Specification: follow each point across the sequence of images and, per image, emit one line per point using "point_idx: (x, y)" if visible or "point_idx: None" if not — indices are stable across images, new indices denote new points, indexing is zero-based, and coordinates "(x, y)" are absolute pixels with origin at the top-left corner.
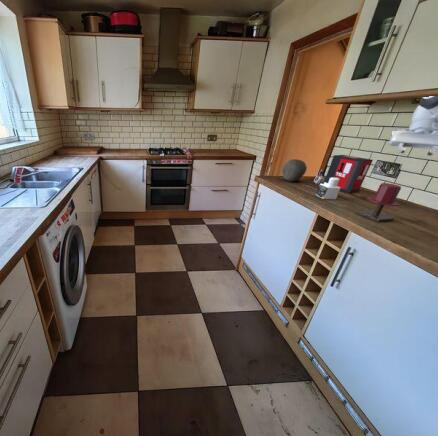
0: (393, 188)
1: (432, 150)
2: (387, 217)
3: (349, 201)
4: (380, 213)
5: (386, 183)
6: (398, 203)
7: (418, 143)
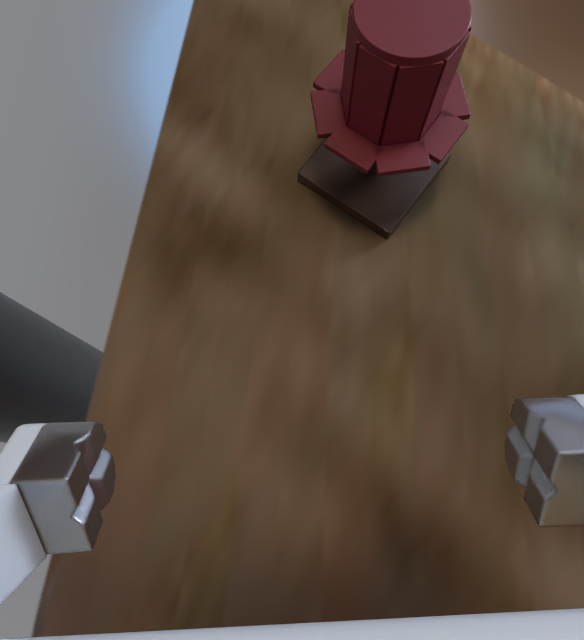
0: None
1: (18, 477)
2: (326, 160)
3: (520, 397)
4: (355, 205)
5: (440, 41)
6: (314, 108)
7: (357, 627)
